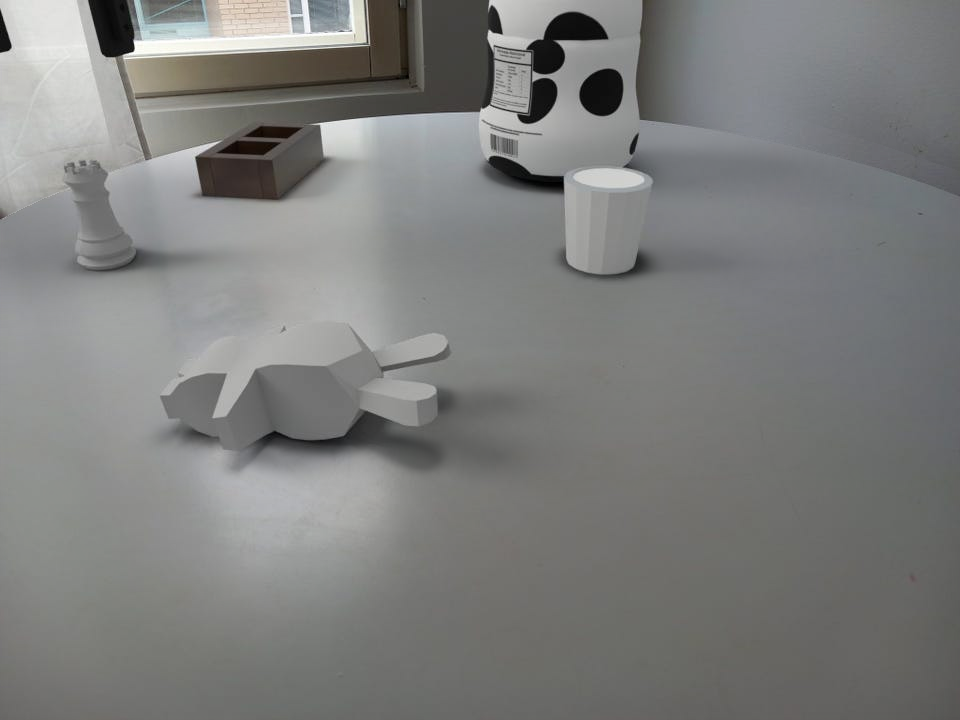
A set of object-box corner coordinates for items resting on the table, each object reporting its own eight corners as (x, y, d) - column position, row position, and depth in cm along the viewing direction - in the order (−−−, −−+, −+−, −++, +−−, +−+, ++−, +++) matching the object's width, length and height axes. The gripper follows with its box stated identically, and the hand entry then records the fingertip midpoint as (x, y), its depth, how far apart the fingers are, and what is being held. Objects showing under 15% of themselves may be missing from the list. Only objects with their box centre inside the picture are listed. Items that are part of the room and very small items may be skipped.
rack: (202, 196, 75) (194, 156, 73) (258, 156, 87) (253, 122, 85) (277, 199, 74) (272, 159, 72) (324, 159, 86) (320, 124, 84)
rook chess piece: (100, 276, 58) (72, 176, 54) (66, 264, 60) (36, 166, 56) (149, 257, 61) (125, 161, 57) (115, 246, 63) (90, 153, 59)
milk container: (632, 152, 89) (650, -15, 80) (637, 199, 75) (659, 1, 65) (489, 146, 91) (491, -17, 82) (467, 190, 77) (466, -3, 67)
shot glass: (577, 282, 57) (584, 194, 54) (547, 249, 63) (551, 167, 60) (657, 272, 59) (669, 186, 55) (621, 241, 65) (629, 161, 61)
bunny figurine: (200, 311, 44) (447, 293, 42) (224, 383, 47) (459, 369, 45) (122, 399, 36) (424, 382, 34) (157, 480, 39) (439, 468, 37)
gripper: (138, -250, 46) (195, 47, 55) (-110, -238, 48) (-17, 45, 57) (63, -277, 40) (142, 64, 48) (-219, -262, 42) (-95, 61, 50)
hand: (56, 54), depth 53 cm, fingers open, 9 cm apart
